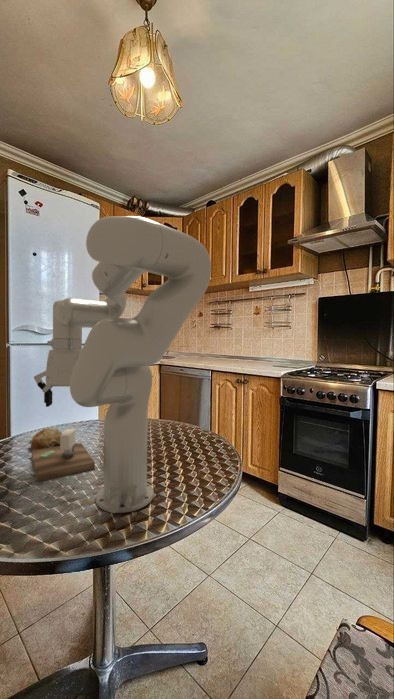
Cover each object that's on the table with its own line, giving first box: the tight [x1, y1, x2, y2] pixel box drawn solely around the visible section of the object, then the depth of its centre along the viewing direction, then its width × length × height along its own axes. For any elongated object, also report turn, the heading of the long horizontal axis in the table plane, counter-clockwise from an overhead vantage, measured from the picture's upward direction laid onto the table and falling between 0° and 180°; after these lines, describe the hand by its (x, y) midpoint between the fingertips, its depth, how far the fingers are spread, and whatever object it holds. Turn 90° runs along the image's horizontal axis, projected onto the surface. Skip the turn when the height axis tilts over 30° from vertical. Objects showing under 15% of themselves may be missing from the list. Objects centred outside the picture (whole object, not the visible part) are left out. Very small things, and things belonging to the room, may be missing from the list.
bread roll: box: [29, 428, 63, 451], centre depth 98 cm, size 10×10×8 cm
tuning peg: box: [60, 428, 78, 458], centre depth 87 cm, size 11×3×7 cm, turn 8°
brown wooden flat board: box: [31, 442, 96, 483], centre depth 86 cm, size 18×14×2 cm
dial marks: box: [40, 447, 76, 457], centre depth 89 cm, size 4×11×1 cm, turn 139°
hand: (67, 405), depth 85 cm, fingers open, 9 cm apart
